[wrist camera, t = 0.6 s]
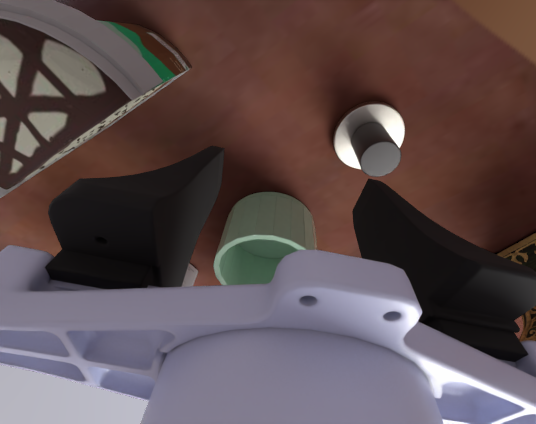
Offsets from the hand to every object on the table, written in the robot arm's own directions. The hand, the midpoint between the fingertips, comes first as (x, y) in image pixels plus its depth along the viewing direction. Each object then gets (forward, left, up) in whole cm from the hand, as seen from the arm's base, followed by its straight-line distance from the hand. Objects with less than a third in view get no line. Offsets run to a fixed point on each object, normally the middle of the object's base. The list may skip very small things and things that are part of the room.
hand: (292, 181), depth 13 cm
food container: (+8, +11, -9) cm, 16 cm away
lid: (-3, -5, -9) cm, 11 cm away
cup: (-10, +5, -9) cm, 15 cm away
